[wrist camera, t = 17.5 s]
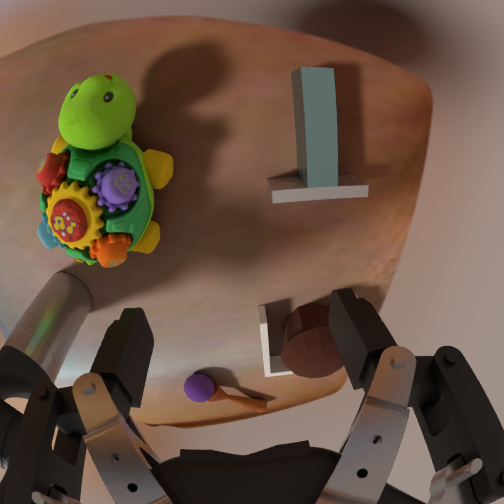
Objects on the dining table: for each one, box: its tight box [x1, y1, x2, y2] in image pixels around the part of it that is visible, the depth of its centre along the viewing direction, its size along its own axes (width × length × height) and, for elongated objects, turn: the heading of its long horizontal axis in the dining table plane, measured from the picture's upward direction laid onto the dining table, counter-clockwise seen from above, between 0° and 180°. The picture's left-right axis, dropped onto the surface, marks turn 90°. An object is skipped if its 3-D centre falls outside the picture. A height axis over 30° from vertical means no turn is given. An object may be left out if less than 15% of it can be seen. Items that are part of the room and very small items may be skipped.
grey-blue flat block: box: [267, 67, 369, 203], centre depth 27 cm, size 14×11×5 cm
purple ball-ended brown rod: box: [184, 374, 267, 413], centre depth 51 cm, size 6×6×20 cm
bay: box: [258, 293, 358, 377], centre depth 43 cm, size 14×16×4 cm
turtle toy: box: [36, 73, 173, 268], centre depth 25 cm, size 17×23×12 cm
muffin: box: [280, 303, 344, 378], centre depth 40 cm, size 12×11×10 cm
